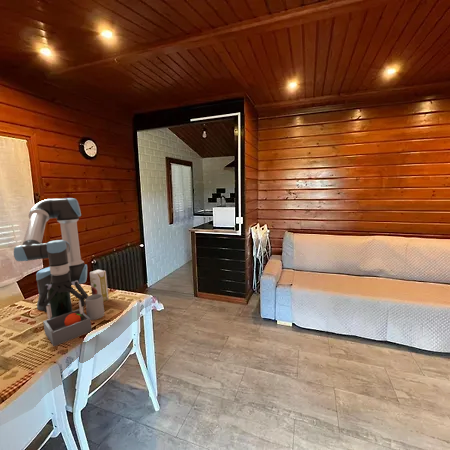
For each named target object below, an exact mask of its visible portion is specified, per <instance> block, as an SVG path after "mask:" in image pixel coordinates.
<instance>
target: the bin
mask: <svg viewBox="0 0 450 450" xmlns="http://www.w3.org/2000/svg"><path fill="white" fill-rule="evenodd" d="M71 313H77V314H80V308H78V309H75V310H72V312H69V313H66V314H63V315H60V316H57V317H54V318H51V319H48V318H47V319H45V320H43V321H42V322H43V329H44V330H43V331H44V335H45V336H46V337H47V339H48V341H50V343H51V345H52V347H56V346H58V345H61V344H64V343H67V342H68V341H70V340H74V339H75V338H78V337H80V336H83V335H85V334H88V333H90V331H91V332H93V329H92V320H91V319H90V318H89V317H88V316H87V313H85V312H84V311H83V313H82V314H80V315H81V316H80V317H81V321H80V322H77V323H75V324H72V325H69V326H66V325H65V318H66V317H67V316H68V315H69V314H71Z"/></svg>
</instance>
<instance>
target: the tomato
mask: <svg viewBox="0 0 450 450" xmlns="http://www.w3.org/2000/svg"><path fill="white" fill-rule="evenodd" d="M80 316H81V315H80V314H77V313H71V314H69V315H68V316H67V317H66V318H65V325H66V326H69V325H72V324H75V323H77V322H80V321H81V317H80Z"/></svg>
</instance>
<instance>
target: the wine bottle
mask: <svg viewBox="0 0 450 450" xmlns="http://www.w3.org/2000/svg"><path fill="white" fill-rule="evenodd" d="M51 275H52V274H51ZM50 285H52V280H51V282H50ZM53 291H54V289H53V288H52V287H51V288H50V289H49V291H48V293H47V298H49V296H50V295H51V294H52V293H53ZM48 304H50V306H51V313H52V317H51V318H54V317H57V316H60V315H63V314H66V313H69V312H72V311H73V306H72V305H73V304H72V298H71V293H69V292H68V291H67V292H61V293H58V292H56V294H55V295H54V296H53V297H52V299H51V300H50V301H49V303H48ZM51 318H50V319H51Z"/></svg>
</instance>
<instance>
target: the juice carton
mask: <svg viewBox="0 0 450 450" xmlns="http://www.w3.org/2000/svg"><path fill="white" fill-rule="evenodd" d="M89 280H90V281H89V282H90V288H91V295H95V294H101V295H102V297H103V303H105V301H109V287H108V279H107V271H106V270H102V269H96V270H95V269H94V270H93V271H90V272H89Z"/></svg>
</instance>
